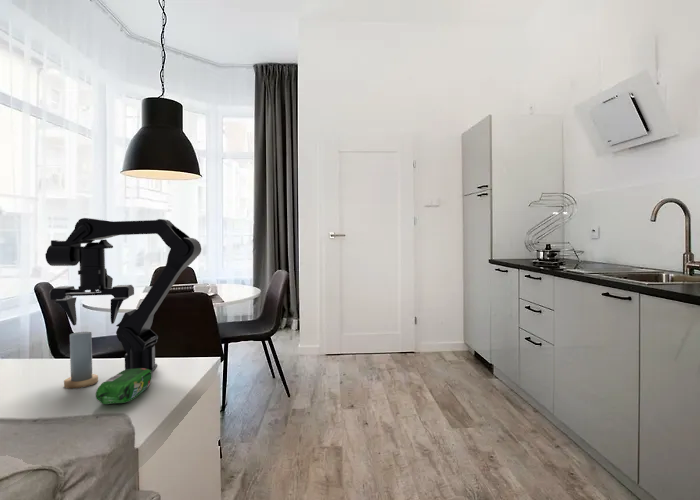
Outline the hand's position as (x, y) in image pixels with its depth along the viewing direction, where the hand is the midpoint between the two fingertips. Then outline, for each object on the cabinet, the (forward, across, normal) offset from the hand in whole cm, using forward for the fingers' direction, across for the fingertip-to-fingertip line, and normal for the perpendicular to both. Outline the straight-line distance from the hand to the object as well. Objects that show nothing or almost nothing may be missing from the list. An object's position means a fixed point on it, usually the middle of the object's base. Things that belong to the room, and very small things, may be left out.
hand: (93, 324), depth 113 cm
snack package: (+13, -14, +21) cm, 28 cm away
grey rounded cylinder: (+11, 0, +10) cm, 15 cm away
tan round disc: (+12, 0, +10) cm, 16 cm away
